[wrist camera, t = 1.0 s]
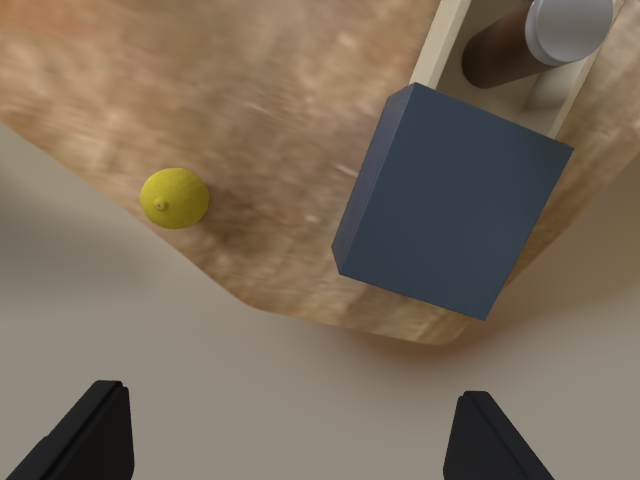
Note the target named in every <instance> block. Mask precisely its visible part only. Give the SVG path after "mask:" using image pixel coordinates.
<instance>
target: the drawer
mask: <svg viewBox="0 0 640 480" xmlns="http://www.w3.org/2000/svg"><path fill="white" fill-rule="evenodd" d="M525 2H526V1H524V0H441V2H440V5H439V7H438V10H437V12H436V15H435V18H434V20H433V23H432V25H431V28H430V30H429V33H428V36H427V38H426V41H425V43H424V46H423V48H422V51H421V53H420V56H419V59H418V61H417V64H416V66H415V69H414V71H413V74H412V77H411V79H410V82H409V84H408V85H410V84H412V83H414V82H418V83H420V84H422V85H425V86H427V87H430V88H432V89H434V90H437V91H439V92H442V93H444V94H446V95H449V96H451V97H454V98H456V99H458V100H461V101H463V102H466V103H468V104H470V105H473V106H475V107H478V108H480V109H482V110H485V111H487V112H490V113H492V114H494V115H497V116H499V117H502V118H504V119H506V120H509V121H511V122H514V123H516V124H518V125H521V126H523V127H526V128H528V129H530V130H533V131H535V132H537V133H540V134H542V135H545V136H547V137H549V138H552V139H554V140H555V139H556V137H557V135H558V133H559V131H560V129H561V127H562V125H563V123H564V121H565V119H566V117H567V115H568V113H569V111H570V109H571V107H572V105H573V103H574V101H575V99H576V97H577V95H578V93H579V91H580V89H581V87H582V85H583V83H584V81H585V79H586V77H587V75H588V73H589V71H590V69H591V67H592V65H593V63H594V61H595V59H596V57H597V55H598V53H599V51H600V49H601V47H602V45H603V43H604V41H605V39H606V37H607V35H608V33H609V31H610V29H611V27H612V25H613V23H614V21H615V19H616V17H617V16H618V14H619V12H620V10H621V8H622V6H623V4H624V2H625V0H612V2H613V17H612V22H611V26H610V29H609V31H608V33H607V35H606V37H605V39H604V40H603V42H602V43H601V44H600V46H599V47H598V48H597V49H596V50H595V51H594V52H593V53H591V54H590V55H589V56H587V57H585V58H584V59H581V60H579V61H576V62H573V63H569V64H566V65H563V66H560V67H557V68H553V69H550V70H547V71H544V72H541V73H537V74H534V75H531V76H528V77H525V78H521V79H518V80H515V81H512V82H509V83H506V84H502V85H499V86H496V87H493V88H488V89H482V88H478V87H475V86H474V85H472V84H471V83H470V82H469V81H468V80H467V79H466V77H465V75H464V73H463V70H462V56H463V52H464V49H465V47H466V45H467V43H468V42H469V41H470V39H471V38H472V37H473V36H475V35H476V34H477V33H479V32H480V31H482V30H484V29H485V28H487V27H488V26H490V25H491V24H493V23H494V22H496V21H497V20H499V19H501V18H502V17H504V16H505V15H507V14H508V13H510V12H511V11H513V10H514V9H516V8H518V7H519V6H521V5H522V4H524V3H525Z"/></svg>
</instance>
